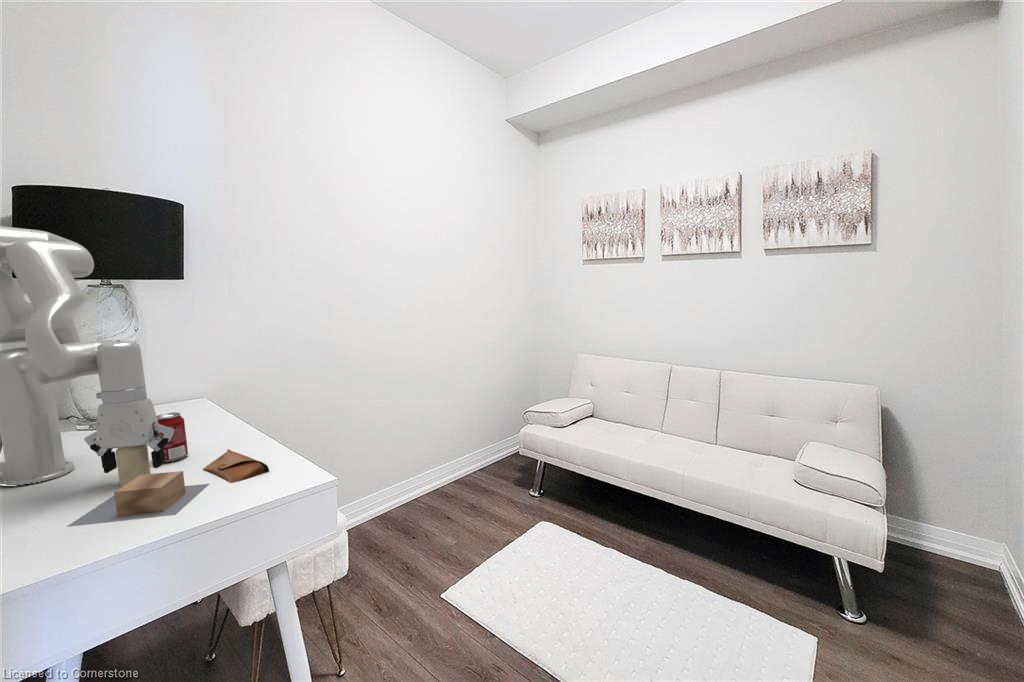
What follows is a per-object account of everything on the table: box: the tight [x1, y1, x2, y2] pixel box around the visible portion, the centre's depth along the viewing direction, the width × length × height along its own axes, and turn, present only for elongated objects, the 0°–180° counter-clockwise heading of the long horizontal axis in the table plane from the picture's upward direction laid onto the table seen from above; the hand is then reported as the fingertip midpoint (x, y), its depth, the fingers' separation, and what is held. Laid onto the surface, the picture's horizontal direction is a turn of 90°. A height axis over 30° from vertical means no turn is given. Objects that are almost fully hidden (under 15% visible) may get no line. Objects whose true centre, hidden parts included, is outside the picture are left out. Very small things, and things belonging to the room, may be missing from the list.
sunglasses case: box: [202, 448, 270, 484], centre depth 106 cm, size 18×7×7 cm, turn 58°
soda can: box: [156, 411, 189, 464], centre depth 114 cm, size 7×7×12 cm
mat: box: [66, 483, 210, 527], centre depth 90 cm, size 18×14×1 cm
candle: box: [114, 444, 152, 487], centre depth 100 cm, size 6×6×10 cm
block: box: [113, 470, 186, 516], centre depth 89 cm, size 8×8×5 cm
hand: (135, 468), depth 100 cm, fingers open, 9 cm apart
